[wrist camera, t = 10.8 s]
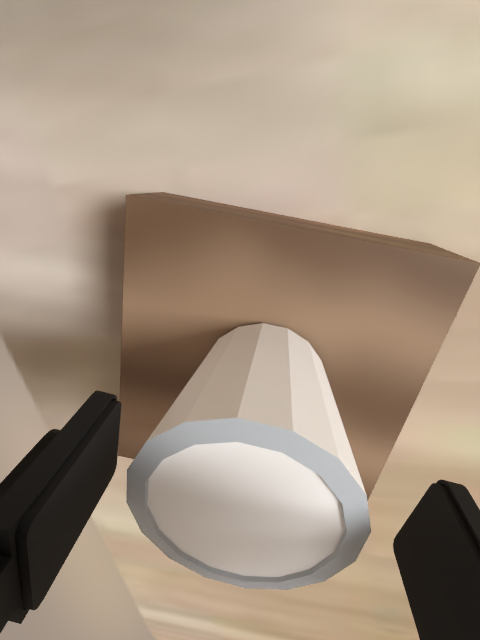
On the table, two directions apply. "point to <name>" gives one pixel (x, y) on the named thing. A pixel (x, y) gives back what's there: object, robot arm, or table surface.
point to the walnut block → (282, 309)
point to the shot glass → (253, 468)
